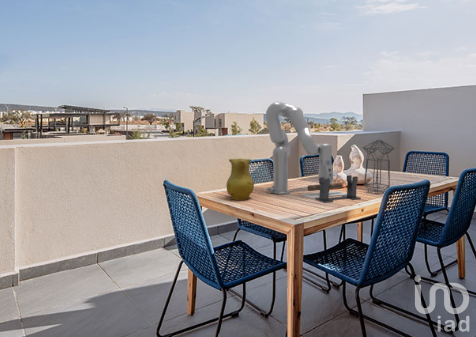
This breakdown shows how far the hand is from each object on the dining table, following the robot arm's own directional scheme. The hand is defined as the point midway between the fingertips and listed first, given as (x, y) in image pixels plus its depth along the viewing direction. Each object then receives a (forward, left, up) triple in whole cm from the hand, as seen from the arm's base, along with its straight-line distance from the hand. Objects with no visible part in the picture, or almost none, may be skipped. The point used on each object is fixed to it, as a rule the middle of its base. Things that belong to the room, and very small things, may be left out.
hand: (324, 191), depth 230 cm
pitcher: (-53, +13, -3) cm, 55 cm away
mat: (0, 0, -3) cm, 3 cm away
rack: (0, -14, -3) cm, 14 cm away
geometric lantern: (+36, -7, -3) cm, 37 cm away
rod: (0, 0, +1) cm, 1 cm away
